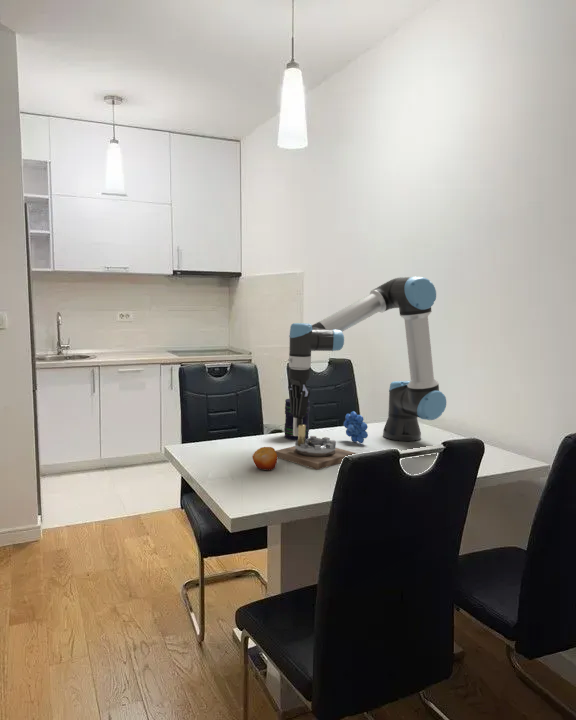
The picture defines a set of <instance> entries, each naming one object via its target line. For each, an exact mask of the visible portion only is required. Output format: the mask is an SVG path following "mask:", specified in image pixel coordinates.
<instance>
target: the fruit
mask: <svg viewBox="0 0 576 720" xmlns="http://www.w3.org/2000/svg"><path fill="white" fill-rule="evenodd" d="M251 457H252V461H253V463H254V466H255V467H256V468H257V469H259V470H262V471H273V470H274V469H276V466H277V463H278V458H277V453H276V450H275V448H274V447H272V446H263V447H260V448H258V449H256V451H254V452H253V454H252V456H251Z"/></svg>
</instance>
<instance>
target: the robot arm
mask: <svg viewBox="0 0 576 720" xmlns="http://www.w3.org/2000/svg"><path fill="white" fill-rule="evenodd" d="M436 299H437V290H436V287H435V285H434V283H433V282H432V281H431V280H430V279H428V278H426V277H424V276H407V277H406V276H405V277H403V276H402V277H400V276H399V277H395V278H393V279H392V278H391V279H390V280H388V281H386V282H385V283H382V284H381V285H379V286H377V287H376V288H373V289H372V290H370V292H369V294H368V295H366V296H364V297H363V298H361V299H358V300H357V301H355V302H353V303H351V304H349V305H347V306H345V307H344V308H342V309H340V310H338V311H336V312H335V313H333V314H331V315H329V316H327V317H326V318H325V317H324V318H323V319H321V320H320V321H318V322H316V323H314V324H311V323H302V322H294V323H292V324H291V325H290V329H289V335H288V338H289V347H288V348H289V352H288V360H287V361H288V367H289V368H288V374H287V375H288V376H287V377H288V379H289V380H290V381H291V385H288V393H289V396H288V397H289V399H290V412H291V414H293V416H294V418H293V436H298V427H299V425H300V424H302V418H303V417H306V411H307V405H308V400H309V397H310V395H311V391H310V390H308V389H307V385H308V384H307V381H309V380H311V369H310V368H311V367H312V366H311V365H312V352H320V351H321V352H327V351H328V352H335V351H336V352H337V351H341V350H342V348H344V345H345V336H344V333H343V332H345V331H346V330H348V329H349V328H352V327H353V326H355V325H357V324H359V323H361V322H363V321H364V320H366V319H369V318H370V317H372V316H373V315H375V314H377V313H384V312H387V311H389V310H393V309H398V311H399V316H400V317H401V318H402V319H403V320H404V327H405V338H406V347H407V356H408V368H409V375H410V380H396V381H392V382H390V384H389V389H388V392H389V395H388V415H387V419H386V422H385V425H384V426H383V427H384V428H383V430H382V431H383V432H382V436H383V437H384V438H386V439H389V440H392V441H398V440H399V441H400V442H415V440H416V441H420V440H421V439H422V431H421V428H420V424H419V421H418V418H419V419H421V420H425V421H426V420H427V421H435V420H437V419H438V418H439V417H441V416H442V414H443V413H444V412H445V410H446V407H447V397H446V396H445V394H444V393H443V392H442V391H440V386H439V384H440V383H439V382H438V381H437V379H435V377H434V367H433V357H432V356H433V355H432V345H431V336H430V326H429V324H430V323H429V315H430V314H431V313H432V306H433V305H434V304H435V302H436Z"/></svg>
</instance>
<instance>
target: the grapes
mask: <svg viewBox="0 0 576 720" xmlns="http://www.w3.org/2000/svg"><path fill="white" fill-rule="evenodd" d="M343 427H344V428H345V429H346V430H345V435H346V436H347V437H348V438H349V437H350V440H351V441H352V442H353V443H357V442H358V443H359V444H363V443H364V442H365V439H367V438H368V436H369V434H368V432H367V429H368V427H369V426H368V424H367V423H366V422H365V421H364V417H363V416H362V415H361V414H357V411H354V410H353V411H351V412H350V413H346V415H345V420H344V421H343Z"/></svg>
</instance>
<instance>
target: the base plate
mask: <svg viewBox="0 0 576 720" xmlns="http://www.w3.org/2000/svg"><path fill="white" fill-rule="evenodd" d="M275 451H276V453H277V457H278V458H279V459H281V460H285V461H288V462H290V463H294V464H298V465H301V466H304V467H307V468H311V469H314V470H317V471H318V470H322V469H324V468H328V467H332V466H334V465H338V464H341V461H342V459H343V458H344V457H345V456H348V455H352V454H356V452H354V451H350V450H346V449H341V448H338V447H335V454H333V455H330V456H323V457H313V456H305V455H301V454H298V453H297V452H295V445H294V446H290V447H289V446H288V447H285V448H280V449H277V450H275ZM278 458H277V459H278Z"/></svg>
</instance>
